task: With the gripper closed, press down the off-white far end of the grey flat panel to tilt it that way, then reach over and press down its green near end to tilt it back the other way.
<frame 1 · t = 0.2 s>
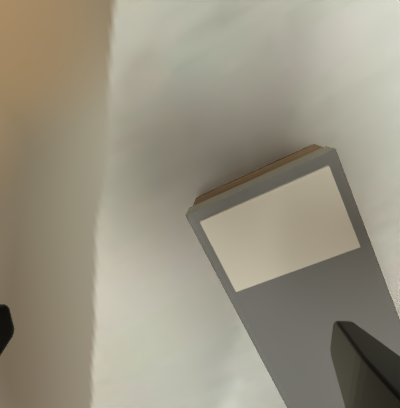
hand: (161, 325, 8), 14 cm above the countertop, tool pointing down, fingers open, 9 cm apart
grey flat panel: (321, 328, 15), point 7 cm above the countertop, hinge at 0.0°
switch base: (294, 264, 22), on the countertop
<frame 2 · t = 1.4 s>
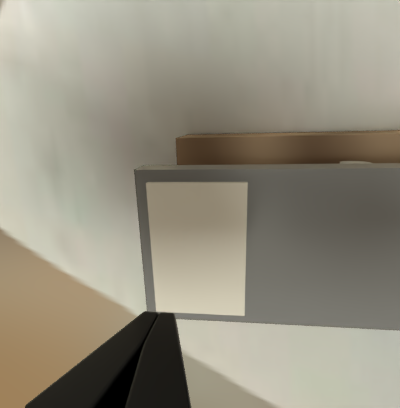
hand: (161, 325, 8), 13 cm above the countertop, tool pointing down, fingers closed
grey flat panel: (350, 245, 12), point 7 cm above the countertop, hinge at 0.0°
switch base: (307, 201, 19), on the countertop
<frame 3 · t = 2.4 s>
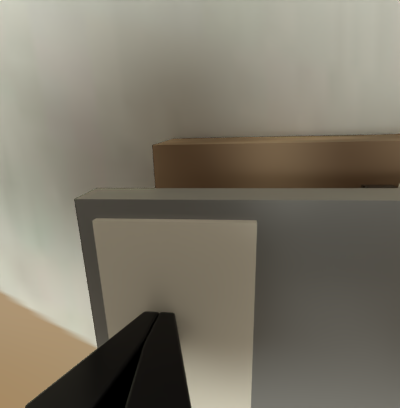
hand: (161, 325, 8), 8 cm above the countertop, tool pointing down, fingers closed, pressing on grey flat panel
switch base: (329, 224, 15), on the countertop
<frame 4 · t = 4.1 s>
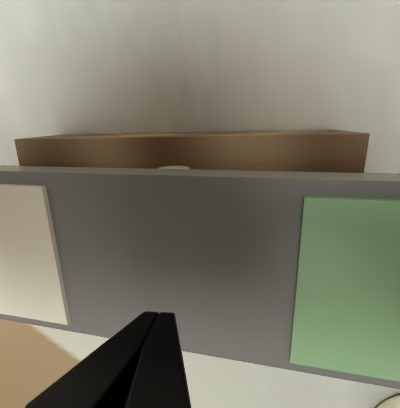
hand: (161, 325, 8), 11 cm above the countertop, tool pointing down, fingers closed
grey flat panel: (173, 259, 11), point 7 cm above the countertop, hinge at 8.7°
switch base: (194, 206, 18), on the countertop
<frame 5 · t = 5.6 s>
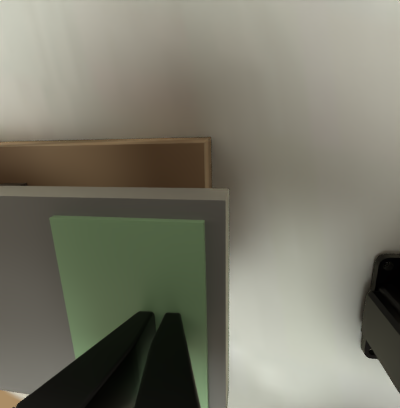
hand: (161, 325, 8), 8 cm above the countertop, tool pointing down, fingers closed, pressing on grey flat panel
switch base: (76, 218, 16), on the countertop
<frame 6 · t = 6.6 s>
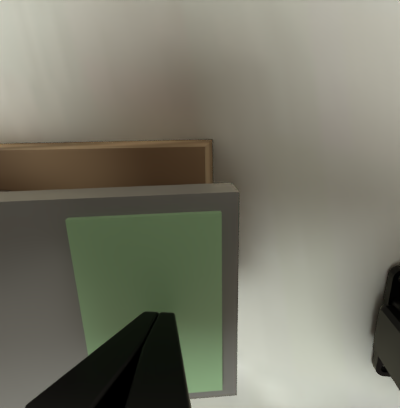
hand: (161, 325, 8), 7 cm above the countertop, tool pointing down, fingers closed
switch base: (68, 226, 15), on the countertop
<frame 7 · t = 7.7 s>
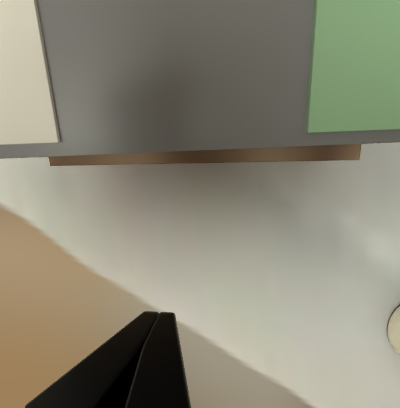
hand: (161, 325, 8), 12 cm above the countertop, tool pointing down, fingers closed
grey flat panel: (181, 52, 10), point 7 cm above the countertop, hinge at -10.0°
switch base: (200, 79, 17), on the countertop
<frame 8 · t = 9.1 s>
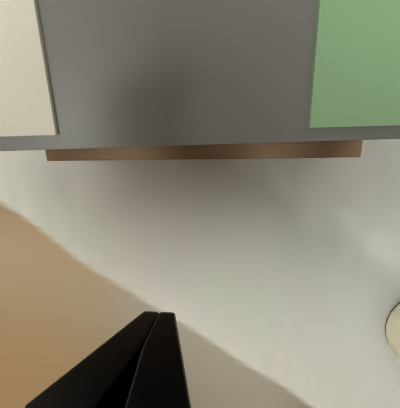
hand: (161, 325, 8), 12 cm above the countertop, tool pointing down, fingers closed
grey flat panel: (182, 44, 10), point 7 cm above the countertop, hinge at -10.0°
switch base: (200, 75, 17), on the countertop
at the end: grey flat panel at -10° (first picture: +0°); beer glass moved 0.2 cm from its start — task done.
